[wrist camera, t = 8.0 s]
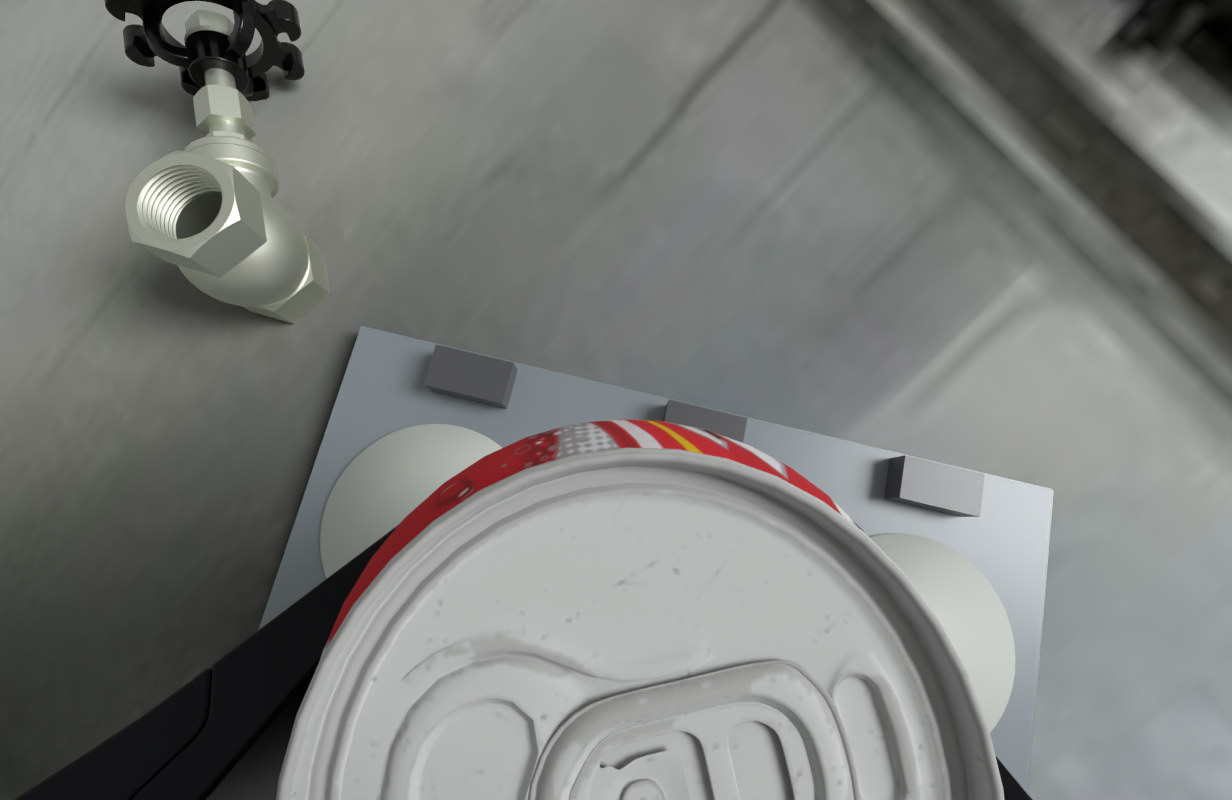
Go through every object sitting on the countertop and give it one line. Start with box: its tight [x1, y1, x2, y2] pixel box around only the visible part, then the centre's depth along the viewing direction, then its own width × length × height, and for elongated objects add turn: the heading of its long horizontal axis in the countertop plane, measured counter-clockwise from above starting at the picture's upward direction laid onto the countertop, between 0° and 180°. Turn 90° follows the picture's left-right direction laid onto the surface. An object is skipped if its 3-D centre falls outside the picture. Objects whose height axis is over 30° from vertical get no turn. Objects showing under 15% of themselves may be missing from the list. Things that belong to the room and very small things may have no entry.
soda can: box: [276, 419, 1004, 800], centre depth 10 cm, size 7×7×12 cm
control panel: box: [258, 326, 1054, 794], centre depth 22 cm, size 28×14×2 cm, turn 77°
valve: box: [105, 0, 330, 324], centre depth 22 cm, size 7×7×12 cm
